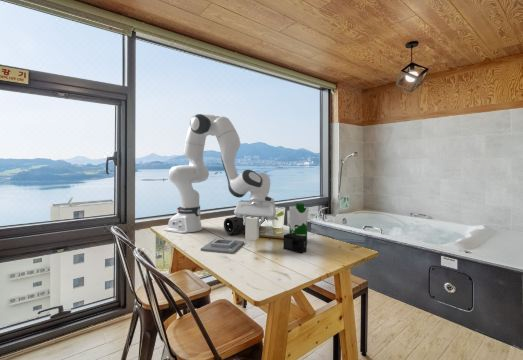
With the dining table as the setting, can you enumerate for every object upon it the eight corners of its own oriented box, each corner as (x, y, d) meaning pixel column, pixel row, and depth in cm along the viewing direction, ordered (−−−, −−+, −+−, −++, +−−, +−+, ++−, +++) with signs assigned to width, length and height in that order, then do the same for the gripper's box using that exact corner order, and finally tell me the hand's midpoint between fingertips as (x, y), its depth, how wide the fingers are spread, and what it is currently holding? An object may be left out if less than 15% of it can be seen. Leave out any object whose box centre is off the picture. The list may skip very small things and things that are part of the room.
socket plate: (200, 250, 129) (200, 245, 129) (215, 240, 144) (215, 236, 144) (232, 253, 125) (232, 248, 125) (244, 243, 140) (244, 238, 140)
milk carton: (293, 244, 139) (293, 205, 137) (287, 239, 147) (287, 202, 146) (309, 243, 141) (310, 204, 139) (302, 238, 150) (302, 201, 148)
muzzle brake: (223, 234, 157) (223, 216, 156) (257, 225, 177) (257, 209, 176) (234, 237, 151) (233, 218, 150) (268, 228, 171) (268, 211, 170)
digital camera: (281, 249, 131) (281, 235, 130) (287, 246, 135) (288, 232, 134) (300, 254, 124) (300, 239, 124) (306, 251, 129) (306, 236, 128)
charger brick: (245, 239, 129) (245, 217, 128) (247, 236, 133) (248, 215, 132) (256, 240, 128) (256, 218, 127) (258, 237, 132) (259, 216, 131)
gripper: (236, 196, 138) (229, 220, 130) (276, 198, 133) (271, 223, 124) (239, 203, 143) (232, 227, 134) (278, 206, 138) (273, 230, 129)
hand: (251, 225), depth 129 cm, fingers closed on charger brick, 5 cm apart
